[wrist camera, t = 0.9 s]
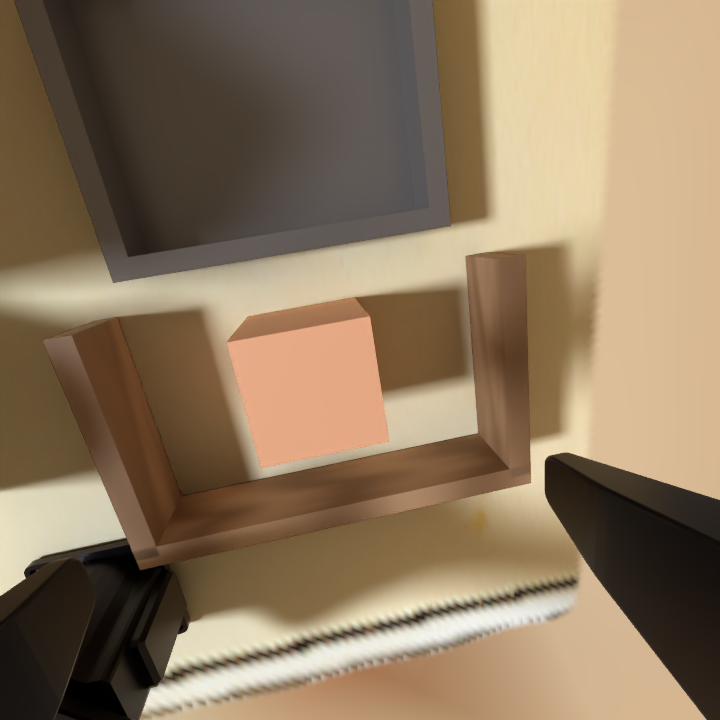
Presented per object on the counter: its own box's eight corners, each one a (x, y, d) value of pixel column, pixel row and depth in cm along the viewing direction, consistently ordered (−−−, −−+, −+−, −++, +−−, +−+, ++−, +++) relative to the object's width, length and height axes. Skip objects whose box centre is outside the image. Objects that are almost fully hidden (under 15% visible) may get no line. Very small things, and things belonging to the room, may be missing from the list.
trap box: (140, 277, 17) (113, 282, 14) (35, -44, 13) (-23, -105, 11) (431, 228, 18) (450, 225, 15) (401, -83, 14) (420, -147, 12)
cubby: (167, 516, 20) (140, 570, 17) (93, 321, 17) (42, 340, 14) (496, 445, 22) (530, 482, 18) (485, 252, 18) (525, 254, 15)
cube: (272, 412, 20) (260, 468, 15) (248, 316, 18) (226, 342, 13) (370, 394, 20) (389, 441, 15) (354, 297, 18) (370, 316, 14)
